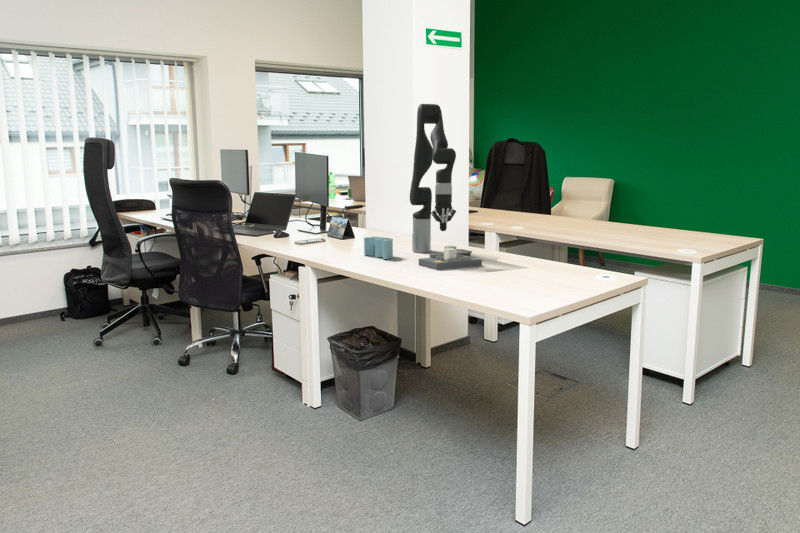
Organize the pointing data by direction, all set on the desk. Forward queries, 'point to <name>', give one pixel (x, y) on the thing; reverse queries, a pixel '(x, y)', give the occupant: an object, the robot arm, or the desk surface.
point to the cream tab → (449, 253)
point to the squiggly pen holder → (378, 247)
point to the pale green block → (449, 247)
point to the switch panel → (449, 262)
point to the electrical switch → (463, 252)
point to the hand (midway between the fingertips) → (443, 230)
